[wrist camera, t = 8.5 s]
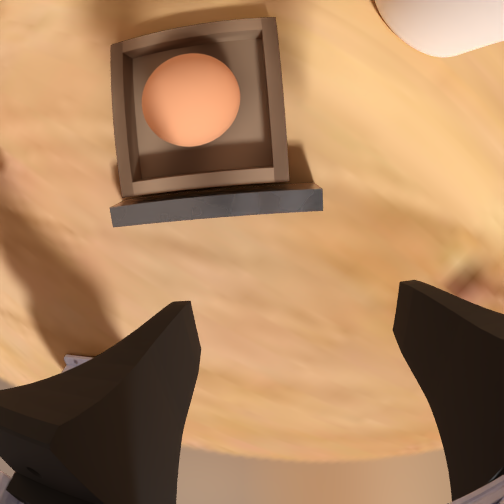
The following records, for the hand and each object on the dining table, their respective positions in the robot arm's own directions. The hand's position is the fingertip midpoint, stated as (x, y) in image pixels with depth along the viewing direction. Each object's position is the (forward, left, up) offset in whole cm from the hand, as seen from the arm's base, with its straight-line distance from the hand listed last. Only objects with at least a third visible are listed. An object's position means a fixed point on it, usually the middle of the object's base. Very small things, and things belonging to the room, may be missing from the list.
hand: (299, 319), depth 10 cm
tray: (-4, +8, -10) cm, 14 cm away
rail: (-4, +3, -10) cm, 11 cm away
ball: (-4, +8, -9) cm, 13 cm away
